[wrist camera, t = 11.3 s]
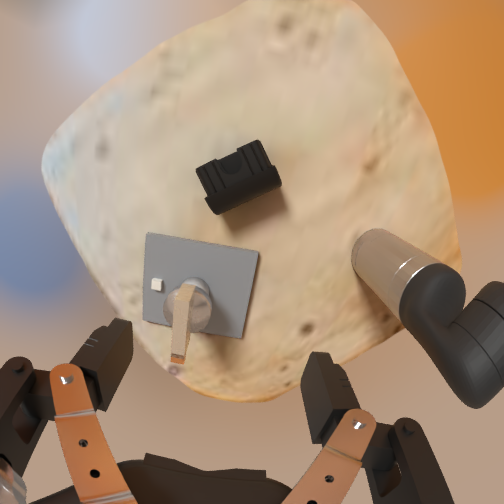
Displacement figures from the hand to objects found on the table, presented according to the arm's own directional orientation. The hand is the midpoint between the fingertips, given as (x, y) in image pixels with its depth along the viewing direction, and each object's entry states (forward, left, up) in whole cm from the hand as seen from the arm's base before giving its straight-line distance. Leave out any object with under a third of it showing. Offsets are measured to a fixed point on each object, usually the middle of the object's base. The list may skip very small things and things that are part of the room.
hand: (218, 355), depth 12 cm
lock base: (+5, +13, -33) cm, 36 cm away
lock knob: (+5, +13, -27) cm, 30 cm away
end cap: (+1, -6, -33) cm, 34 cm away
